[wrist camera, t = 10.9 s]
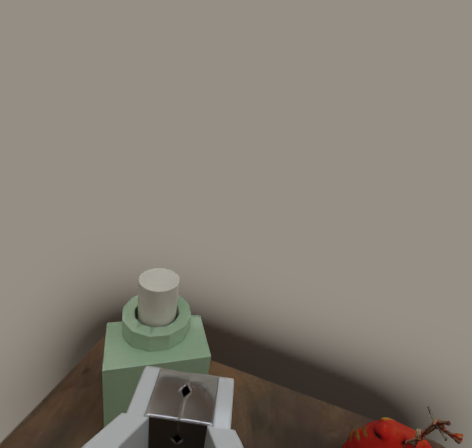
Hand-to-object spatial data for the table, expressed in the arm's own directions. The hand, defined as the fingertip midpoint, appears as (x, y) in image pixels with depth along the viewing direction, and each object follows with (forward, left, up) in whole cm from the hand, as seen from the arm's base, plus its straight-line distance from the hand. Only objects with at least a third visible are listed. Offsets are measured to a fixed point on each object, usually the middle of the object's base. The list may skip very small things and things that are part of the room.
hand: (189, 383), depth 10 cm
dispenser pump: (-7, +17, -14) cm, 23 cm away
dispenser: (-7, +16, -26) cm, 32 cm away
